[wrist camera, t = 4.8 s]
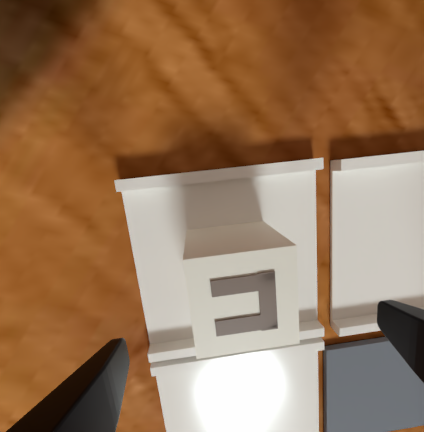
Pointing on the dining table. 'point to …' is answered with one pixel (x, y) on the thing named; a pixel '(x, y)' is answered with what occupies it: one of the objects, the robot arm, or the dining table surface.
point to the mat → (370, 388)
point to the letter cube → (241, 288)
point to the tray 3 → (375, 237)
